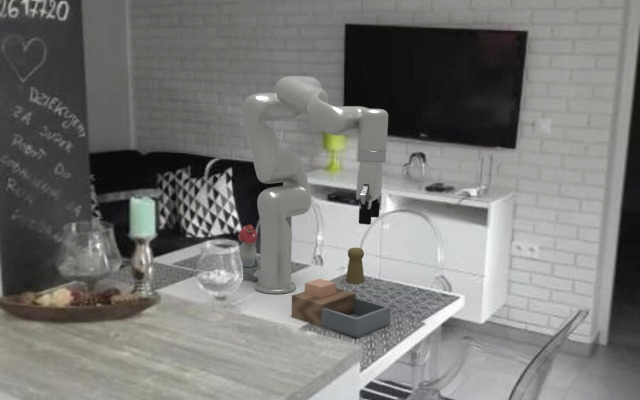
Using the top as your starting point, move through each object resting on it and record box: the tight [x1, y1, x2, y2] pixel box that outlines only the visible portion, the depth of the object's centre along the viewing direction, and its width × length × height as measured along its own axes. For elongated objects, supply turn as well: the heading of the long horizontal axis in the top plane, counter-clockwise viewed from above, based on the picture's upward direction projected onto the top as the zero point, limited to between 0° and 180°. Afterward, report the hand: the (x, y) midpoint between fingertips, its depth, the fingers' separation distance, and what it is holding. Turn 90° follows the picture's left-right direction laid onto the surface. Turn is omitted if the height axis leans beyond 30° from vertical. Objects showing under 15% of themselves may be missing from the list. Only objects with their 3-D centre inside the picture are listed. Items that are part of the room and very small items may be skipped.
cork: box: [345, 247, 365, 285], centre depth 230 cm, size 6×6×11 cm
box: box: [320, 296, 391, 339], centre depth 189 cm, size 12×14×5 cm
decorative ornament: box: [238, 224, 258, 268], centre depth 246 cm, size 9×6×15 cm
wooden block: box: [291, 287, 357, 327], centre depth 197 cm, size 11×14×6 cm
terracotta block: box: [304, 278, 337, 298], centre depth 197 cm, size 6×6×3 cm
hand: (369, 220), depth 190 cm, fingers open, 9 cm apart
